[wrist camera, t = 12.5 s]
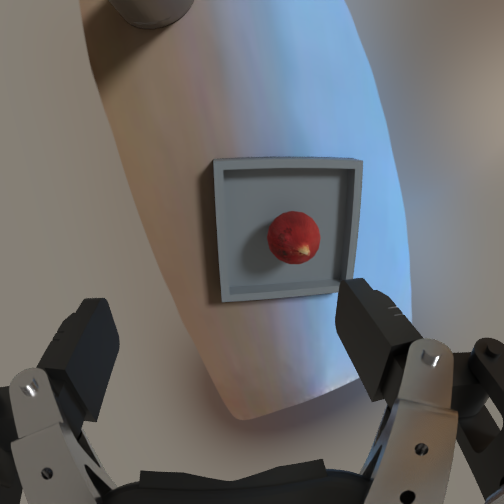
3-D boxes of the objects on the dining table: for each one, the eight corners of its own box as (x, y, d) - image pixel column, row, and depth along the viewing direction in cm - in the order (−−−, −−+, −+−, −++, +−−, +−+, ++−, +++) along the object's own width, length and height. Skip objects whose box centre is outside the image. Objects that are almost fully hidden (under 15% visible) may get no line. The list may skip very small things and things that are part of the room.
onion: (269, 255, 38) (281, 286, 31) (257, 211, 36) (268, 234, 28) (313, 241, 38) (335, 269, 31) (304, 198, 36) (326, 217, 28)
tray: (213, 158, 34) (213, 161, 31) (352, 158, 35) (363, 160, 33) (221, 290, 40) (221, 302, 37) (343, 280, 42) (351, 290, 39)
